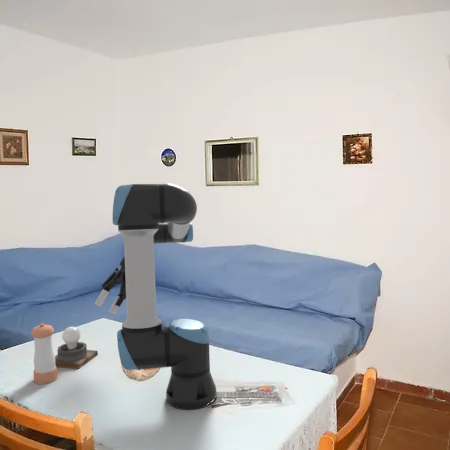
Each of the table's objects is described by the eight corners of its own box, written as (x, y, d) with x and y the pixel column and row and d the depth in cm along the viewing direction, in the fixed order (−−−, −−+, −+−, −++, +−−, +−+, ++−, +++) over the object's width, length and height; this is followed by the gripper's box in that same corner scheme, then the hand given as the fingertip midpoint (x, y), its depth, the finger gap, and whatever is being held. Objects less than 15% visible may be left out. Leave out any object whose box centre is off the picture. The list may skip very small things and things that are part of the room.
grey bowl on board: (78, 368, 159) (78, 355, 159) (46, 365, 163) (45, 352, 162) (97, 354, 172) (97, 341, 171) (67, 352, 175) (66, 339, 175)
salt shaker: (47, 372, 157) (44, 319, 155) (62, 377, 153) (58, 322, 151) (29, 381, 151) (25, 325, 149) (43, 385, 147) (39, 328, 145)
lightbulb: (64, 353, 169) (62, 325, 168) (81, 351, 171) (79, 323, 170) (63, 360, 163) (61, 330, 162) (81, 357, 165) (79, 328, 164)
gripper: (155, 269, 170) (126, 321, 164) (126, 260, 190) (99, 306, 184) (140, 260, 166) (109, 312, 160) (111, 252, 185) (84, 298, 180)
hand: (104, 309), depth 172 cm, fingers open, 13 cm apart
